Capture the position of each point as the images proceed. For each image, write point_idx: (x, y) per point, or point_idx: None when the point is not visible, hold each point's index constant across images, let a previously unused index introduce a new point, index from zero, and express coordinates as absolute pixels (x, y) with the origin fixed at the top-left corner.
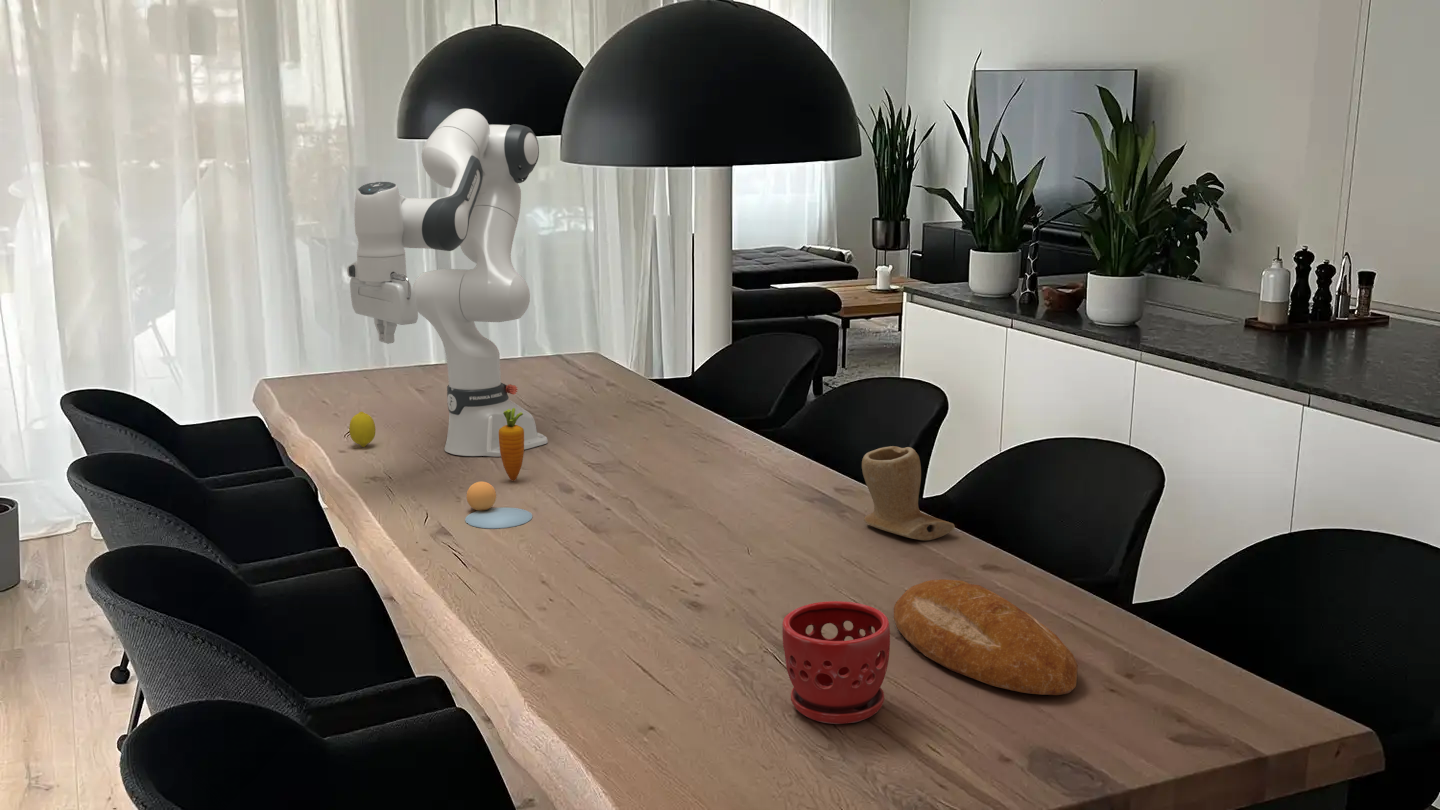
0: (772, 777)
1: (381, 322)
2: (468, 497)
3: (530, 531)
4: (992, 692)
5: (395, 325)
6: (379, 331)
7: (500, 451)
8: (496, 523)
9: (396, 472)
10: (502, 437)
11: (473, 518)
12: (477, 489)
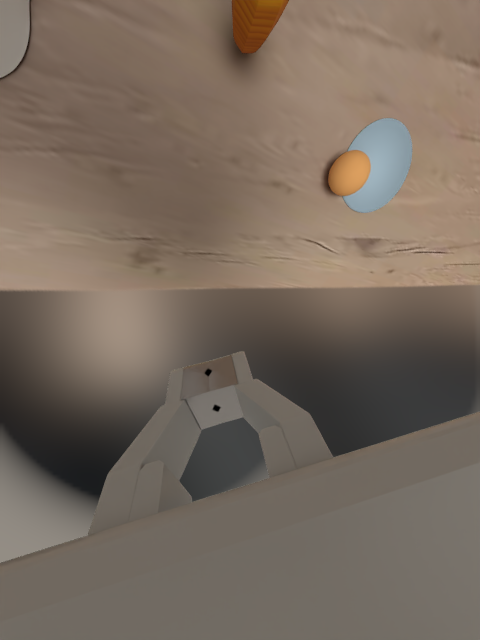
0: None
1: (183, 491)
2: (347, 195)
3: (433, 155)
4: None
5: (310, 420)
6: (195, 439)
7: (249, 38)
8: (390, 182)
9: (118, 223)
10: (277, 14)
11: (359, 200)
12: (364, 183)
